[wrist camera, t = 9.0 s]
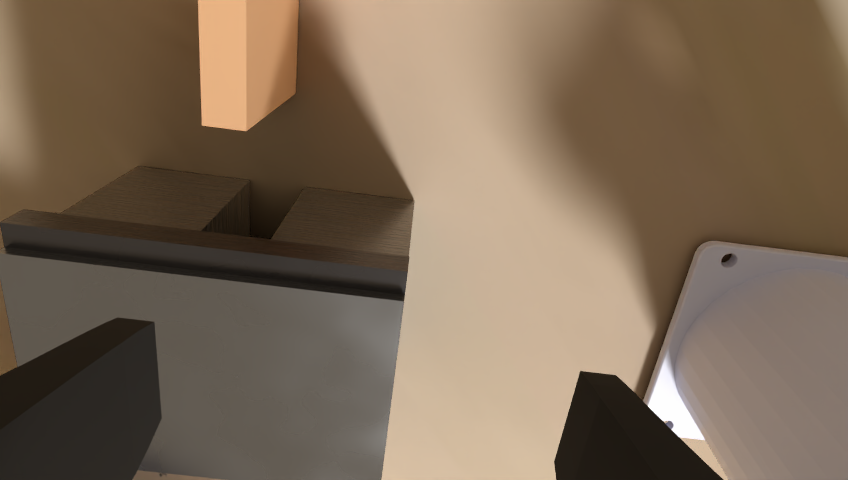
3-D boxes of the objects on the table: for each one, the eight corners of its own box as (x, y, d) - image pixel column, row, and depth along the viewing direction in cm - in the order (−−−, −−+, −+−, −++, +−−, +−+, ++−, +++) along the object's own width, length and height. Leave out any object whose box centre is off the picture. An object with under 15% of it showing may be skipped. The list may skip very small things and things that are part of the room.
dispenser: (416, 183, 19) (406, 277, 13) (395, 351, 21) (379, 496, 15) (136, 148, 18) (-11, 227, 12) (150, 323, 21) (35, 459, 15)
